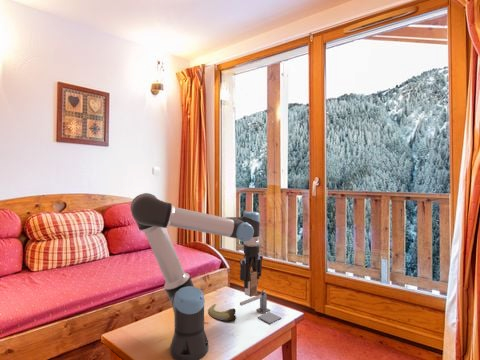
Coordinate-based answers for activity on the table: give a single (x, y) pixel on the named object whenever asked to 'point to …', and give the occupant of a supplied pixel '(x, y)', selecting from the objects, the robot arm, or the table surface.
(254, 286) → the tan brick
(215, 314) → the claw
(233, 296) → the table surface
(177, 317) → the robot arm
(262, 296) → the grey lever handle
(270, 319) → the mat
